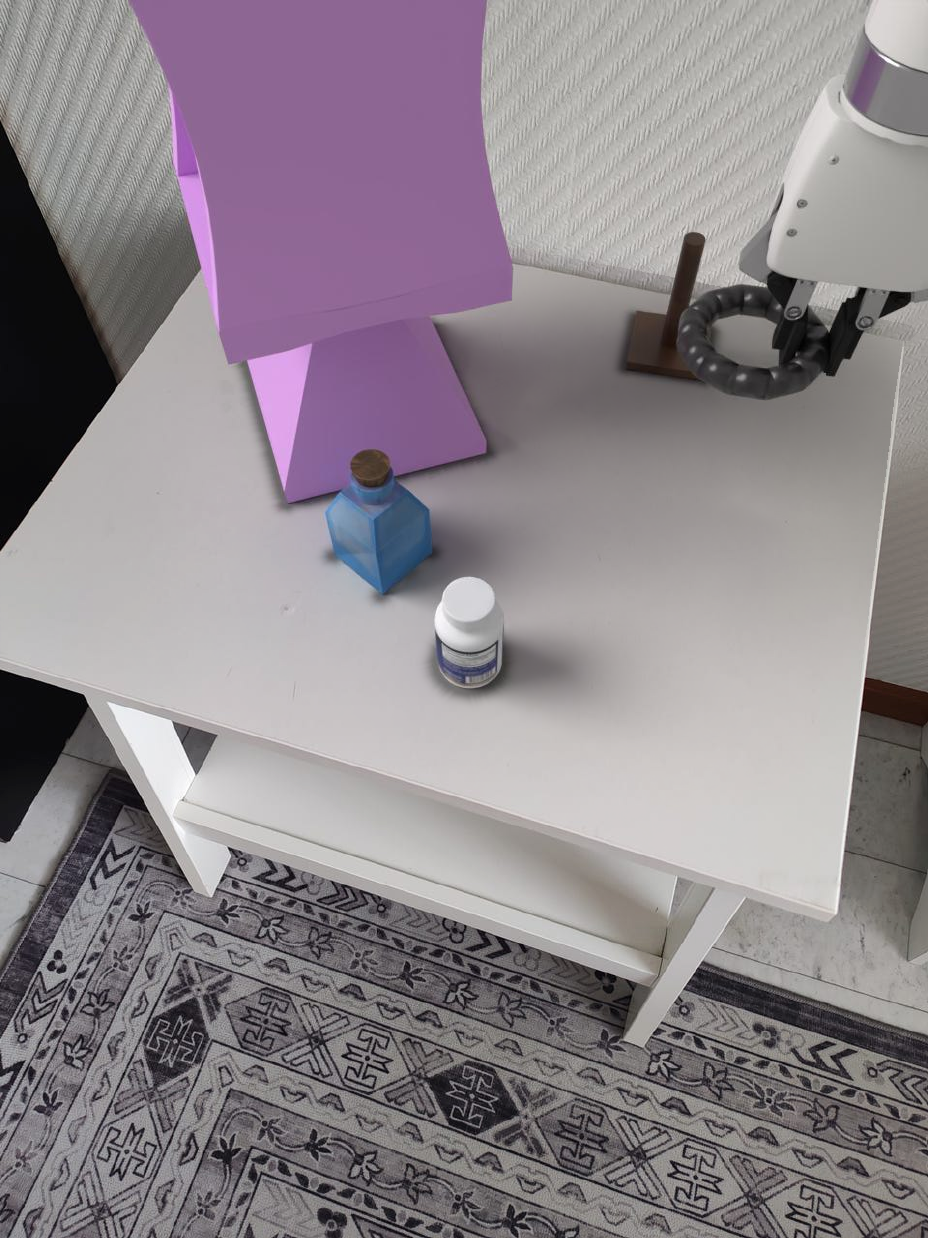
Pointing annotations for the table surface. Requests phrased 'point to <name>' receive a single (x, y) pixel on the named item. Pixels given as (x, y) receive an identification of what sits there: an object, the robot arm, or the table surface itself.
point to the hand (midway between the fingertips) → (806, 356)
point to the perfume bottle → (378, 523)
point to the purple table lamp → (338, 214)
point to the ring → (744, 377)
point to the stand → (667, 319)
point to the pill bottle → (469, 633)
